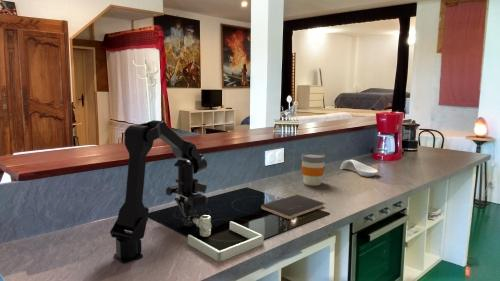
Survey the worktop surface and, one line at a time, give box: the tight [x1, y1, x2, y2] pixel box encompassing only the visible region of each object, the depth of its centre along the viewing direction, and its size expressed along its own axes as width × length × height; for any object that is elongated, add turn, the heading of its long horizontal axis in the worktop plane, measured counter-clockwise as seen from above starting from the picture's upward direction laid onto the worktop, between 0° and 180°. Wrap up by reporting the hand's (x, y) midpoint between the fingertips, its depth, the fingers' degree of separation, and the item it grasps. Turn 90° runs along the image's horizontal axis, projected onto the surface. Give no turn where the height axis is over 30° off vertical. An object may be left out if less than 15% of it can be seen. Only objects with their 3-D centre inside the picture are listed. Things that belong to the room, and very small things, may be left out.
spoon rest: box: [339, 159, 379, 178], centre depth 221 cm, size 24×12×7 cm, turn 38°
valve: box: [181, 208, 212, 238], centre depth 134 cm, size 7×7×12 cm
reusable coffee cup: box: [300, 152, 326, 186], centre depth 197 cm, size 13×13×15 cm
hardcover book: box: [260, 194, 325, 220], centre depth 160 cm, size 16×23×2 cm
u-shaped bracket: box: [187, 220, 265, 263], centre depth 124 cm, size 19×16×3 cm
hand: (186, 217), depth 140 cm, fingers closed
